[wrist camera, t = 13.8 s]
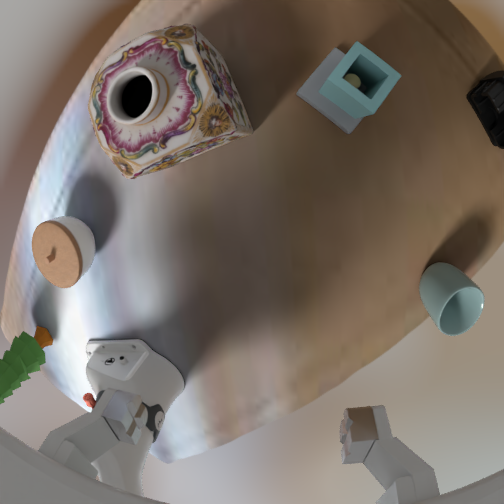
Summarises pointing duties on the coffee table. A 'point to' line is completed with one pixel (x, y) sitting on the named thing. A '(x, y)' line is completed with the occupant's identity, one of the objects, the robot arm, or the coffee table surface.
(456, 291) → the cup
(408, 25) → the coffee table surface
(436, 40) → the coffee table surface
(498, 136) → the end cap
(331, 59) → the shaft block
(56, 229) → the lidded jar
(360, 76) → the collar
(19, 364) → the decorative tree
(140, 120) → the decorative jar
